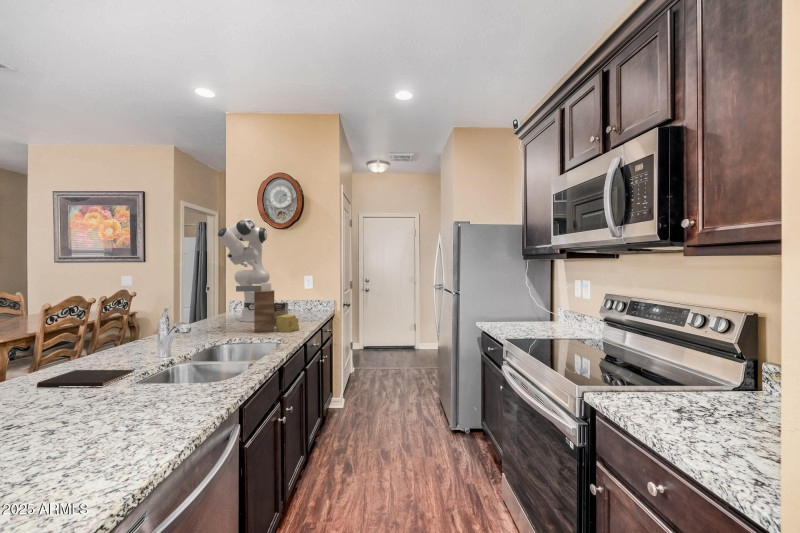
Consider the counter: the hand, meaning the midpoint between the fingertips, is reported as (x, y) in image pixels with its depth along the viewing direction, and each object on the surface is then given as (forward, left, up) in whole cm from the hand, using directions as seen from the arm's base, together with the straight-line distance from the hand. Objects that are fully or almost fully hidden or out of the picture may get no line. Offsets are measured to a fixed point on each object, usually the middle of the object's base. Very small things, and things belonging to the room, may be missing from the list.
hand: (252, 264), depth 256 cm
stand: (+13, +8, -43) cm, 46 cm away
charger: (+13, +2, -17) cm, 22 cm away
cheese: (+17, +22, -43) cm, 52 cm away
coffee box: (-5, +18, -43) cm, 47 cm away
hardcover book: (+104, -52, -44) cm, 124 cm away
